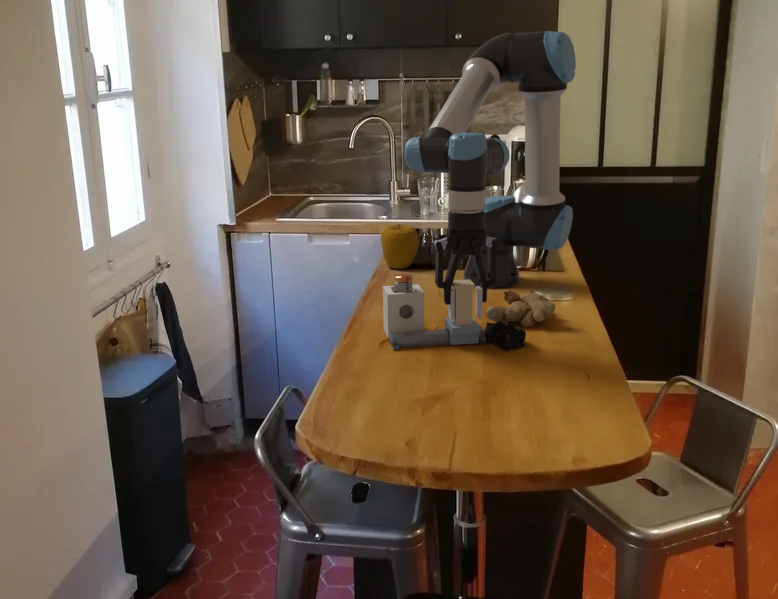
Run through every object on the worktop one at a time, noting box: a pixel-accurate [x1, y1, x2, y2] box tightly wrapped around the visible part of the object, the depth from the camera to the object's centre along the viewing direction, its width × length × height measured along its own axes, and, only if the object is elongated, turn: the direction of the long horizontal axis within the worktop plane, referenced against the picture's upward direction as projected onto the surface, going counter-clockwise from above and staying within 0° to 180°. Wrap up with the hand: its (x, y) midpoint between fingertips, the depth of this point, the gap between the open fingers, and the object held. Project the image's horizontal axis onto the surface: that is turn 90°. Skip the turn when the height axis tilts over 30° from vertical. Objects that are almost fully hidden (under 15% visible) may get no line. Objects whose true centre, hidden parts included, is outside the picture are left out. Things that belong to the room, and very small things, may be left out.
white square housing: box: [382, 284, 425, 339], centre depth 174 cm, size 8×7×10 cm
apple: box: [380, 223, 420, 270], centre depth 232 cm, size 11×11×13 cm
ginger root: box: [483, 289, 556, 328], centre depth 182 cm, size 16×16×8 cm
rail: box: [388, 326, 487, 351], centre depth 169 cm, size 20×6×2 cm, turn 99°
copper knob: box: [393, 273, 413, 293], centre depth 173 cm, size 4×4×6 cm
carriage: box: [444, 279, 481, 346], centre depth 168 cm, size 6×7×13 cm
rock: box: [484, 322, 527, 353], centre depth 168 cm, size 7×10×6 cm
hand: (465, 317), depth 168 cm, fingers open, 5 cm apart
